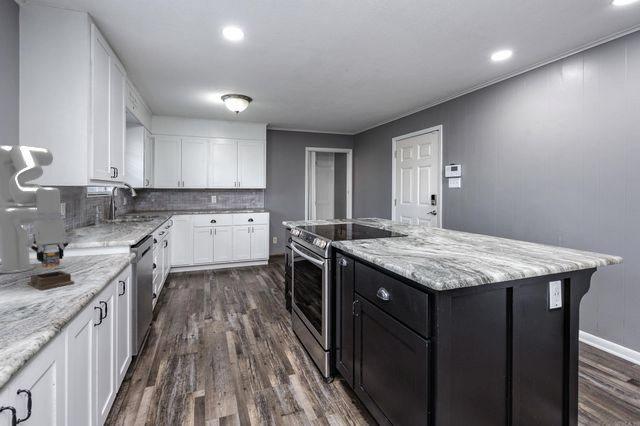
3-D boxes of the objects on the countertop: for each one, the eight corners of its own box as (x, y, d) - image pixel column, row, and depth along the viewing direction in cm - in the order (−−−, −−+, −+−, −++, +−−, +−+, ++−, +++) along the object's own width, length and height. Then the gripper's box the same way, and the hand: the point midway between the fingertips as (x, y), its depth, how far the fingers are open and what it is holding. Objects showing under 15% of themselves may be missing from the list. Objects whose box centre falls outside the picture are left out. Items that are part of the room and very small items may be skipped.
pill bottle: (49, 269, 127) (48, 245, 126) (38, 269, 128) (37, 245, 127) (63, 266, 132) (62, 243, 132) (52, 265, 133) (51, 243, 133)
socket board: (27, 284, 129) (27, 275, 129) (59, 278, 139) (59, 269, 138) (41, 290, 122) (40, 280, 122) (74, 283, 132) (74, 274, 131)
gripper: (69, 215, 138) (71, 255, 139) (17, 217, 123) (19, 262, 124) (77, 216, 134) (78, 257, 135) (25, 218, 119) (26, 265, 120)
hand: (50, 259), depth 130 cm, fingers closed on pill bottle, 5 cm apart
